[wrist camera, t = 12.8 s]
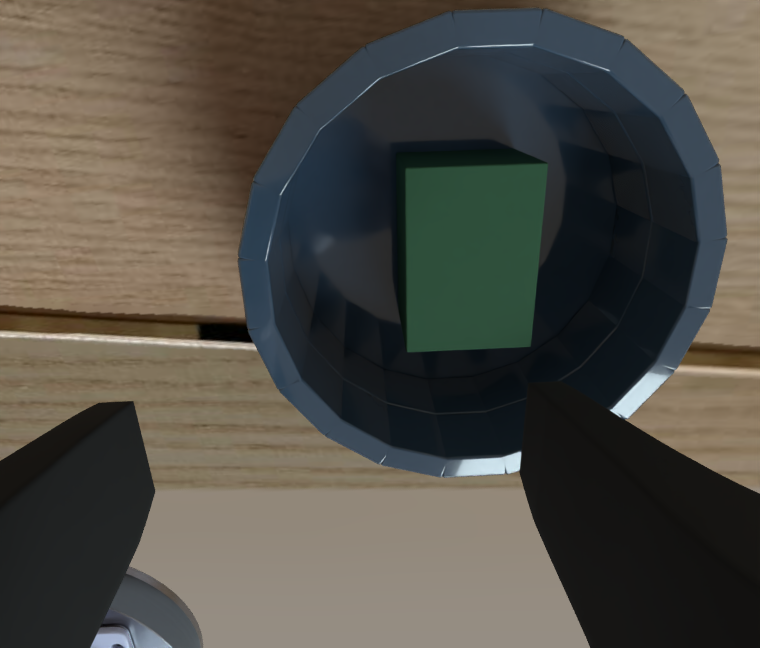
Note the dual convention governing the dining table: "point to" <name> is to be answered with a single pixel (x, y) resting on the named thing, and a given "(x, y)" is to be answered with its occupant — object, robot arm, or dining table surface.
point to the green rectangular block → (468, 247)
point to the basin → (557, 249)
